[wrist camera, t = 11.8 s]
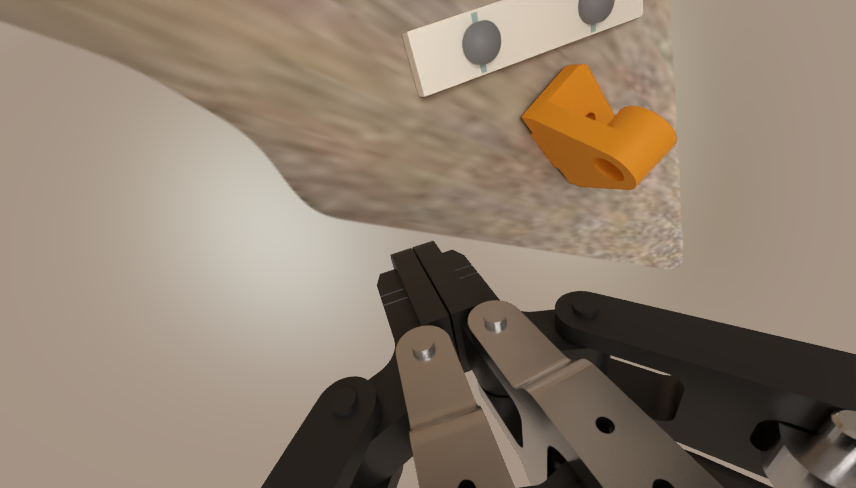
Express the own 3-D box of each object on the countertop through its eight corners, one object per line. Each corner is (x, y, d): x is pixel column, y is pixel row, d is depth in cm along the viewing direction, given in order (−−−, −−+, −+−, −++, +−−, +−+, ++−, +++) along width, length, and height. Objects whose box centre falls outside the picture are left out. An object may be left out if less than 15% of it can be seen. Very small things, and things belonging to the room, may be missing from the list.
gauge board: (401, 34, 29) (410, 30, 27) (630, -43, 33) (654, -51, 31) (418, 96, 31) (428, 97, 29) (629, 18, 35) (651, 14, 33)
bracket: (607, 133, 41) (713, 152, 30) (564, 180, 41) (655, 214, 31) (564, 60, 35) (679, 52, 25) (516, 116, 36) (608, 131, 25)
